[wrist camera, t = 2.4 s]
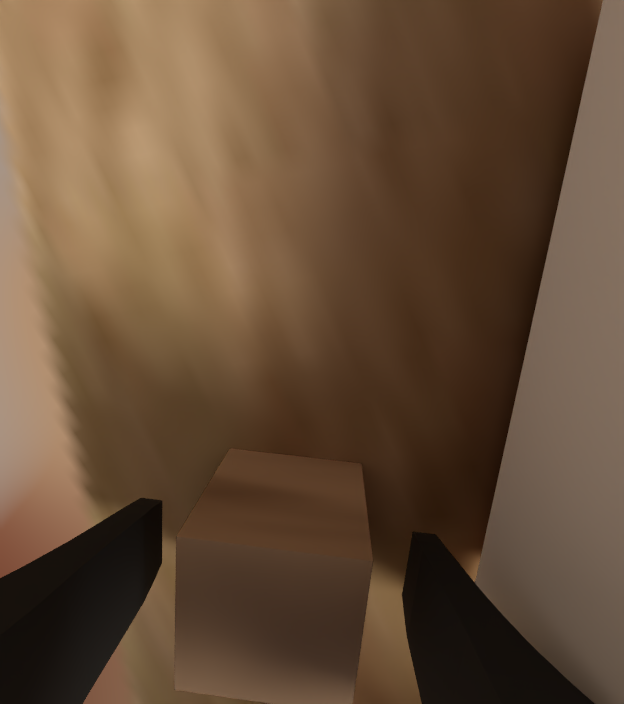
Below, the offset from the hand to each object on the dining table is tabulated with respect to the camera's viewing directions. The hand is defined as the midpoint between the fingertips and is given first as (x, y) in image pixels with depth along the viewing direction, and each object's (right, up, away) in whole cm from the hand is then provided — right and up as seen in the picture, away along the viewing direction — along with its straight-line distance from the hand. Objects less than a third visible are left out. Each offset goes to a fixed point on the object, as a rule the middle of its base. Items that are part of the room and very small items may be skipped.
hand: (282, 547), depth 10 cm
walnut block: (0, 0, +2) cm, 2 cm away
